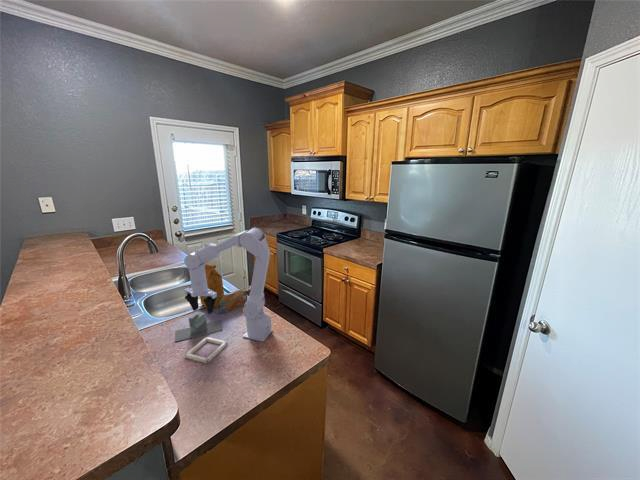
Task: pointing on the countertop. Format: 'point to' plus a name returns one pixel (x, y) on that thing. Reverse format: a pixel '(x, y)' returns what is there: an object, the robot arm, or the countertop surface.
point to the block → (197, 322)
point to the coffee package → (213, 283)
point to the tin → (231, 301)
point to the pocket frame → (199, 358)
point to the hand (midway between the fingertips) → (203, 311)
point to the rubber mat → (187, 334)
